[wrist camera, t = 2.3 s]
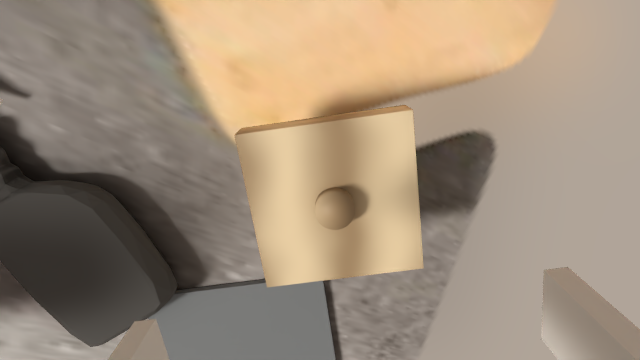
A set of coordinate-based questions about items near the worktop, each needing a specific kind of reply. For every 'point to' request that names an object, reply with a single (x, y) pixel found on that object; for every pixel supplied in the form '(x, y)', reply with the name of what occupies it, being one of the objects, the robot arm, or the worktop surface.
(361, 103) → the worktop surface
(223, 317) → the mat
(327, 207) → the lid
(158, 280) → the spray bottle
